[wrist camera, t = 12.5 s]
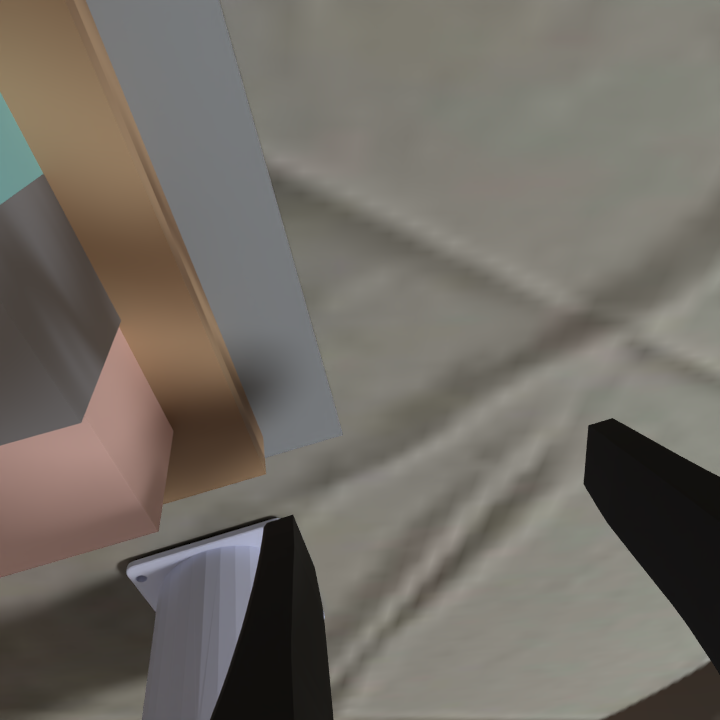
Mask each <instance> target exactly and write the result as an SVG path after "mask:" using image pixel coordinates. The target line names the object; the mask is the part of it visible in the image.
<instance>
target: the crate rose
mask: <svg viewBox="0 0 720 720" xmlns="http://www.w3.org/2000/svg"><path fill="white" fill-rule="evenodd" d="M172 438H173V429H172V427H171V425H170V424H169V422H168V420H167V418H166V416H165V414H164V412H163V410H162V408H161V406H160V404H159V403H158V401H157V399H156V397H155V395H154V393H153V391H152V389H151V387H150V385H149V383H148V381H147V380H146V378H145V376H144V374H143V372H142V370H141V368H140V366H139V364H138V362H137V360H136V358H135V357H134V355H133V353H132V351H131V349H130V347H129V345H128V343H127V341H126V339H125V337H124V335H123V334H122V332H121V330H120V328H118V331H117V333H116V336H115V338H114V341H113V343H112V346H111V348H110V351H109V354H108V356H107V359H106V361H105V364H104V366H103V369H102V371H101V374H100V377H99V379H98V382H97V384H96V387H95V389H94V392H93V394H92V397H91V399H90V402H89V405H88V407H87V410H86V412H85V415H84V417H83V420H82V422H81V423H79V424H76V425H72V426H68V427H65V428H61V429H58V430H54V431H51V432H47V433H43V434H40V435H36V436H33V437H29V438H26V439H22V440H19V441H15V442H11V443H8V444H4V445H1V446H0V577H4V576H7V575H11V574H14V573H18V572H21V571H24V570H28V569H31V568H35V567H38V566H42V565H45V564H48V563H52V562H55V561H59V560H62V559H66V558H69V557H72V556H76V555H79V554H83V553H86V552H90V551H93V550H97V549H100V548H103V547H107V546H110V545H114V544H117V543H121V542H124V541H127V540H131V539H134V538H138V537H141V536H145V535H148V534H151V533H155V532H158V531H159V525H160V519H161V512H162V505H163V499H164V492H165V485H166V478H167V472H168V465H169V458H170V452H171V445H172Z"/></svg>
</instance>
